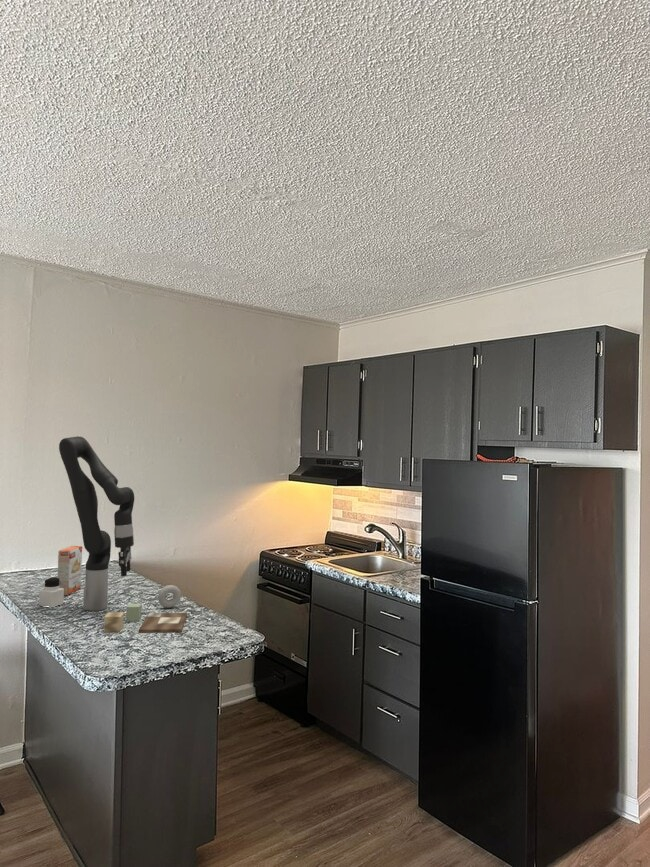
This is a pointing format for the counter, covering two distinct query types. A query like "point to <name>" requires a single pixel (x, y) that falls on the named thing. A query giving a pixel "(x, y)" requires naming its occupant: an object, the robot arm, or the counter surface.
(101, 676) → the counter surface
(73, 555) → the cracker box
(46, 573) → the counter surface
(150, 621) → the baseplate
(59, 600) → the medicine bottle
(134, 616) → the sage block
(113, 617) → the maple block
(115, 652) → the counter surface
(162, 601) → the donut
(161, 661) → the counter surface
